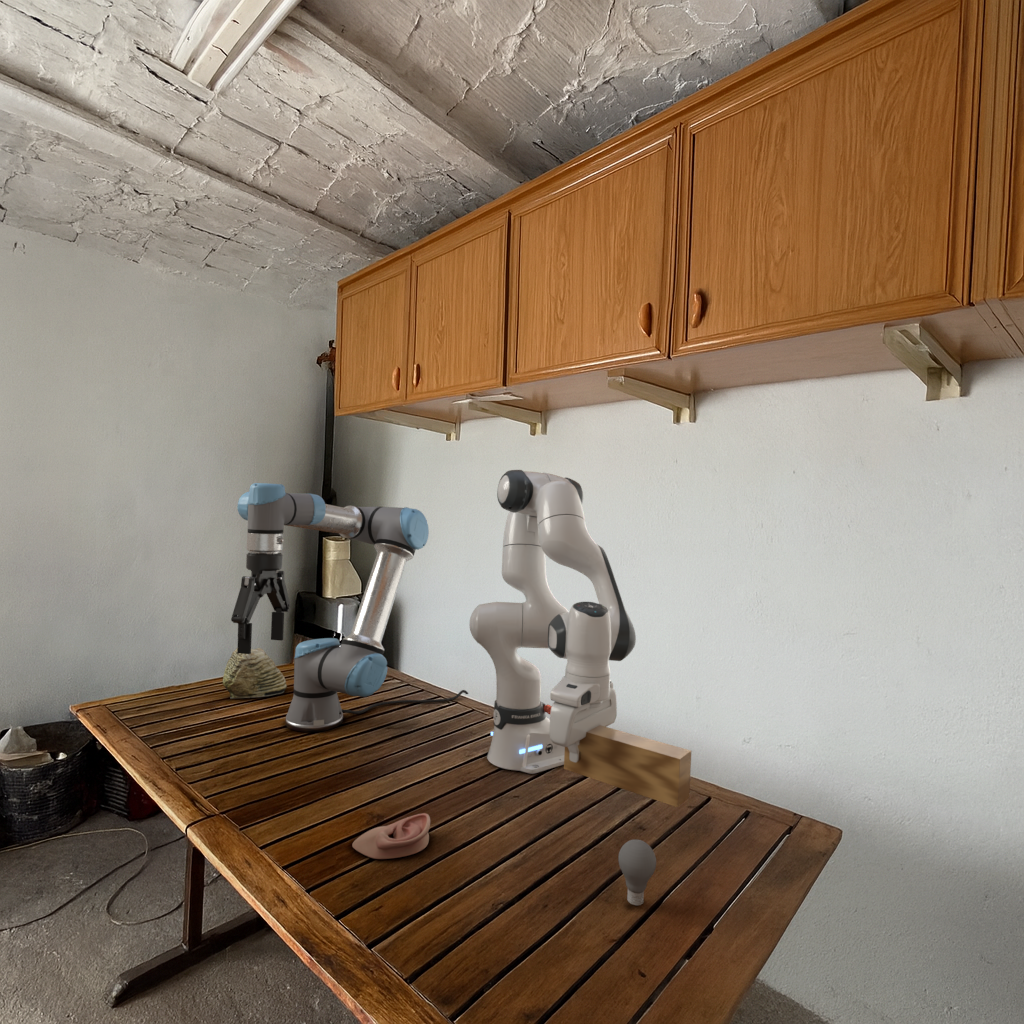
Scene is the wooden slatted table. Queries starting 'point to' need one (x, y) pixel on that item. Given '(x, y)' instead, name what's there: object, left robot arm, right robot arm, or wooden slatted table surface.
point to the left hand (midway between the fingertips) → (261, 646)
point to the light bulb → (636, 868)
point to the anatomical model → (395, 838)
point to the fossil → (253, 675)
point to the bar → (634, 764)
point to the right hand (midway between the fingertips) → (583, 755)
